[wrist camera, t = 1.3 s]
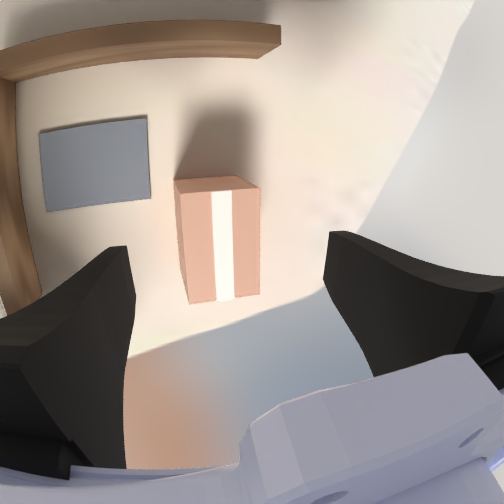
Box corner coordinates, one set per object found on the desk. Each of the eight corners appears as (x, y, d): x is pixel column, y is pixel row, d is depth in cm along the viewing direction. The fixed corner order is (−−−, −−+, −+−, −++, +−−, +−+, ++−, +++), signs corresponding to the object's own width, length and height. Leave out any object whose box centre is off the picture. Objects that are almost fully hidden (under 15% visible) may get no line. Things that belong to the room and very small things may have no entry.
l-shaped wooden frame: (258, 267, 23) (278, 292, 20) (28, 293, 19) (10, 323, 15) (257, 42, 18) (280, 25, 14) (1, 69, 13) (-27, 60, 9)
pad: (150, 198, 19) (150, 198, 19) (47, 211, 17) (46, 212, 17) (146, 118, 18) (146, 118, 17) (39, 134, 16) (38, 134, 15)
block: (236, 261, 23) (260, 295, 18) (180, 268, 22) (189, 305, 17) (235, 175, 21) (261, 188, 16) (173, 179, 20) (180, 194, 15)
